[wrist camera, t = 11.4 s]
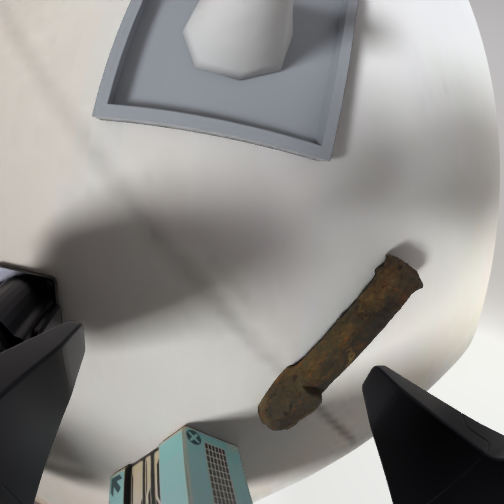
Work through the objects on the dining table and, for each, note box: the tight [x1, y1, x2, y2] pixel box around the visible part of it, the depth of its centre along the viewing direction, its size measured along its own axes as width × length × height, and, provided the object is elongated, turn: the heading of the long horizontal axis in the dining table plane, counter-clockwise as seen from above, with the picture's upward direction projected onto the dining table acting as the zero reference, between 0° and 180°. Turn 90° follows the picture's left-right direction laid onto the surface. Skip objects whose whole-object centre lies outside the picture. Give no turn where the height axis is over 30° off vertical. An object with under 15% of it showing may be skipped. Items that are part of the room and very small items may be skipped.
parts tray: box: [92, 0, 358, 161], centre depth 15 cm, size 15×15×2 cm
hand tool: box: [258, 254, 423, 430], centre depth 23 cm, size 19×4×5 cm, turn 136°
